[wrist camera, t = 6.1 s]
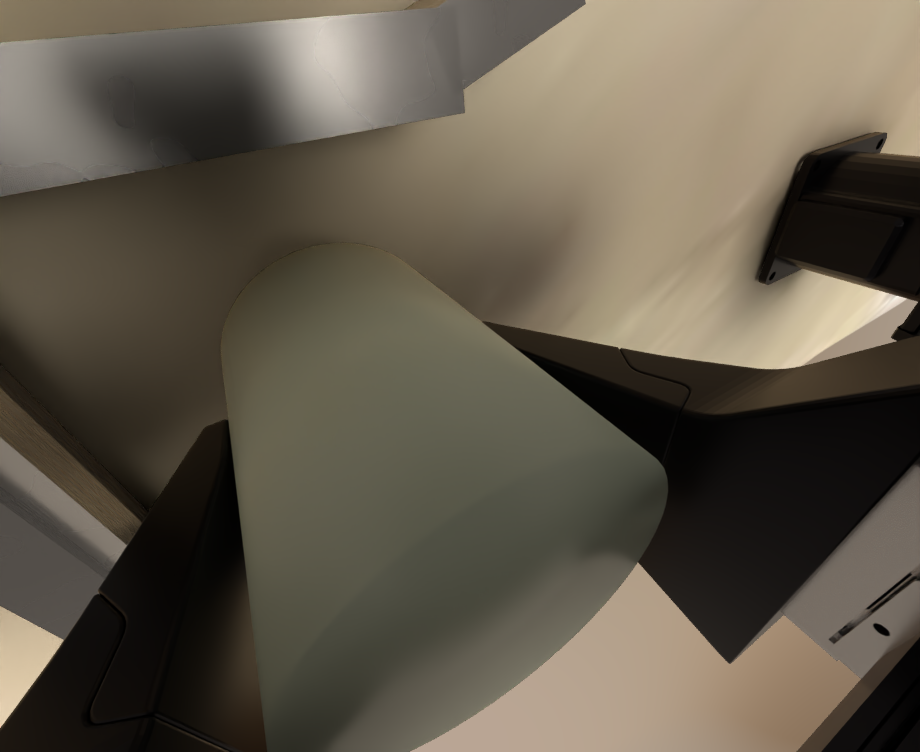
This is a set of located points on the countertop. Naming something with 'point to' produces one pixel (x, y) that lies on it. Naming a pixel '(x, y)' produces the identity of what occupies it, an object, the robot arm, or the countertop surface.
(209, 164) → the countertop surface
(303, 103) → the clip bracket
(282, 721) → the grey rounded piece
